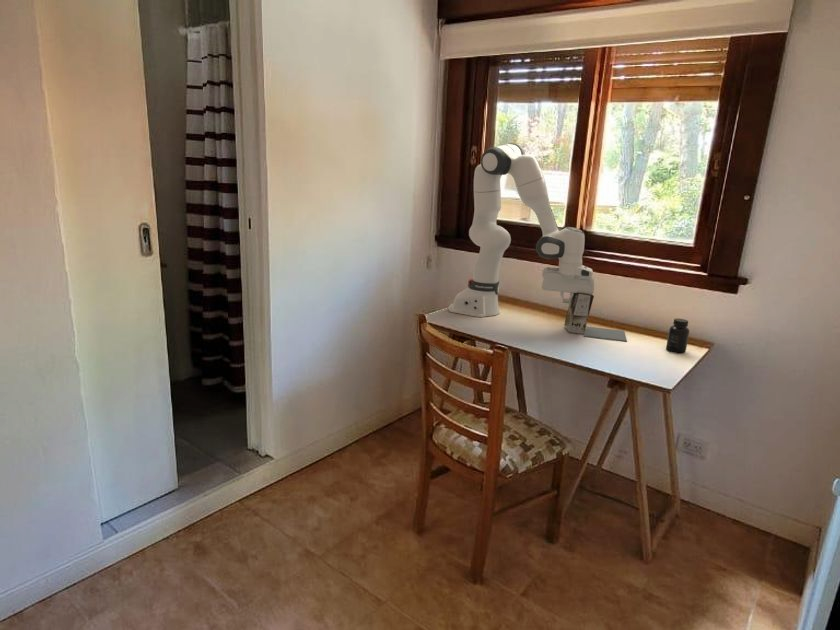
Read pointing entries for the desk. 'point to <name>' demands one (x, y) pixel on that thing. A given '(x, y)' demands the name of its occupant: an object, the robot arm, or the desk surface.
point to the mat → (605, 334)
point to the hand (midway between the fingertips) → (565, 302)
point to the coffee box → (578, 312)
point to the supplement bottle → (678, 336)
